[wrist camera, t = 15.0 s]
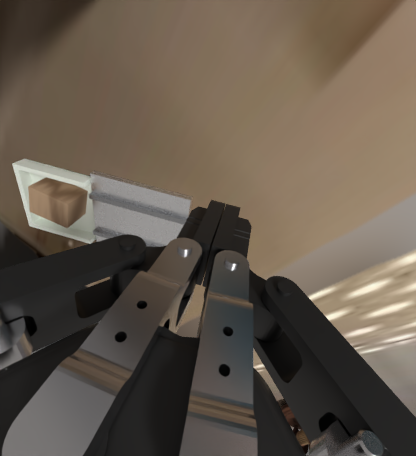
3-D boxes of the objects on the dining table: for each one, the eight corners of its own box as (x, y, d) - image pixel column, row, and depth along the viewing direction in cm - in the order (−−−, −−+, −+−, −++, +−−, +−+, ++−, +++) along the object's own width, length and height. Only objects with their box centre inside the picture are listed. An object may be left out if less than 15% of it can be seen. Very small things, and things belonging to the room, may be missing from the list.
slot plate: (192, 196, 48) (189, 202, 46) (181, 265, 59) (178, 273, 57) (94, 170, 50) (86, 175, 48) (100, 242, 60) (94, 248, 58)
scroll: (309, 425, 85) (316, 511, 69) (270, 406, 84) (269, 489, 68) (341, 412, 77) (358, 507, 60) (299, 391, 76) (305, 482, 59)
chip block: (68, 204, 48) (28, 186, 47) (67, 228, 51) (29, 211, 51) (87, 190, 52) (51, 174, 52) (85, 213, 56) (51, 198, 56)
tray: (92, 177, 51) (83, 182, 49) (98, 236, 60) (90, 244, 57) (24, 158, 52) (12, 163, 50) (39, 219, 61) (29, 226, 58)
